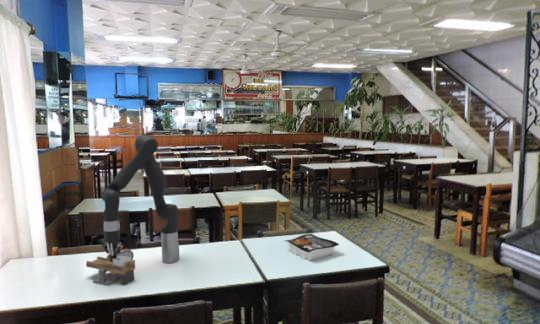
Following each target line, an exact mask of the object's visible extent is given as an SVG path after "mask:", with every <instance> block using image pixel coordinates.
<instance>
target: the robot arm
mask: <svg viewBox="0 0 540 324" xmlns="http://www.w3.org/2000/svg"><path fill="white" fill-rule="evenodd" d="M158 147H159V144H158V141H157V139H155V138H154V137H151V136H148V135H144V134H143V135H138V136H137V137H136V139H135V142H134V149H135V151H136V152H137V153H136V155H135V156H134V157H133V158H132V159H131V160H130V161H129V162H127V164H125V165H123V167H122V168H121V169H119V171H118V173H117V174H116V176H114V178H113V179H112V181H111V182H110V183H109V184H108V185H107V186H106V187H105V188H104V190H103V191H102V193H101V197H100V198H101V199H102V201H103V202H104V209H103V238H104V242H102V243H101V246H102V248H103V249H104V251H105V253H106V254H107V255H110V261H111V262H113V258H115V257H116V254H119V253H120V251H121V250H123V249H124V247H125V246H124V245H123V244H121V240H120V237H121V228H120V226H121V225H120V216H119V215H120V213H119V209H120V195H119V194H120V193H121V191H122V190H123V189H125V188H126V187H127V186H128V185H129V183H130V182H131V180H132V179H133V178H134V176H135V175H136V174H137V172H139V170H140V169H141V168H142V167H143V170H144V172H145V173H144V174H145V176H146V179H147V183H148V186H149V189H150V192H151V194H152V198H153V202H154V209H155V212H156V213H155V214H156V215H157V217H158V219H160V220H165V221H167V222H166V224H165V225H162V226H160V240H161V241H160V242H161V261H162V263H164V264H174V263H177V262H178V261H179V259H180V257H181V256H180V243H179V238H178V237H179V236H178V235H179V233H178V228H179V208H178V206H177V205H176V204H173V203H166V200H165V196H164V194H165V191H166V188H167V181H166V180H167V179H166V176H165V174H164V171H163V168H162V167H161V166H160V164H159V163H158V161H157V160H156V158H155V155H154V154H156V152H157V150H158Z"/></svg>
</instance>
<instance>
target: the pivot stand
mask: <svg viewBox="0 0 540 324" xmlns="http://www.w3.org/2000/svg"><path fill="white" fill-rule="evenodd" d="M119 281H120V285H125V286H128V285H129V284H131V283H132V282H134V281H135V269H133V270H131V271H129V272H128V273H126V274H124V275H123V274H119V273H114V272H108V273H107V272H106V270H105V269H98V278H96V279H93V280H92V283H94V284H97V285H102V286H106V287H109V286H111V285H112V284H115V283H117V282H119Z"/></svg>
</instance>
